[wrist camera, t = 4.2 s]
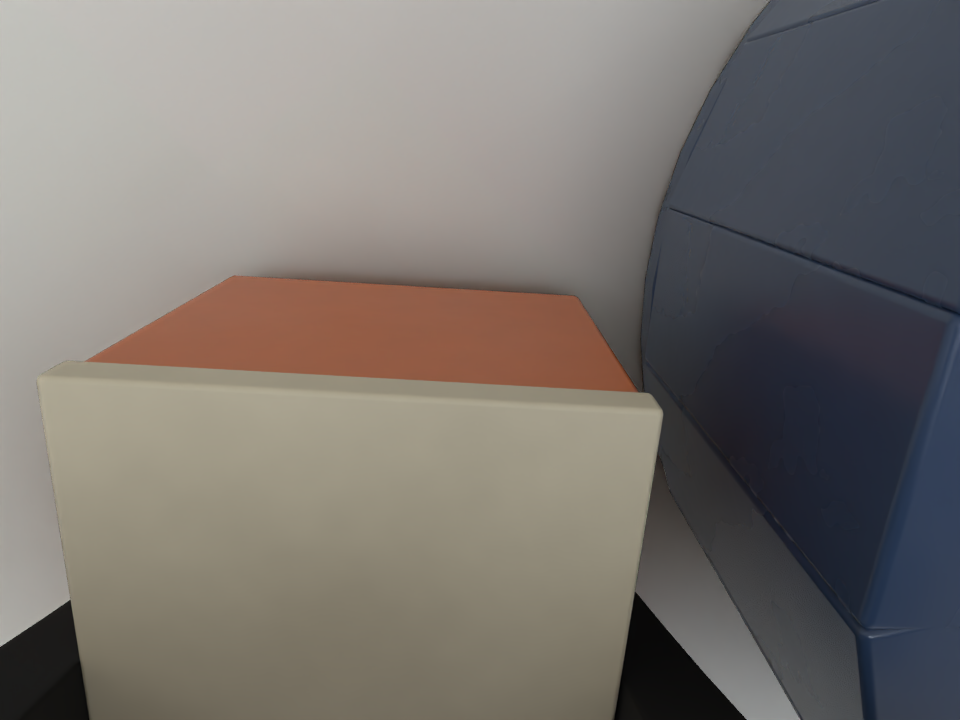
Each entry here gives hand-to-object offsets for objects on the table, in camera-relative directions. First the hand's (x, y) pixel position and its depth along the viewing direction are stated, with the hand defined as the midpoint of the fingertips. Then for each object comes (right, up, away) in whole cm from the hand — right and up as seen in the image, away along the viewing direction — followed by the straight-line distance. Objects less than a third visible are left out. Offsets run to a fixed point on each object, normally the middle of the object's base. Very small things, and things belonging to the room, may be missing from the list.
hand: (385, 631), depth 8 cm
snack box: (0, 0, +2) cm, 2 cm away
